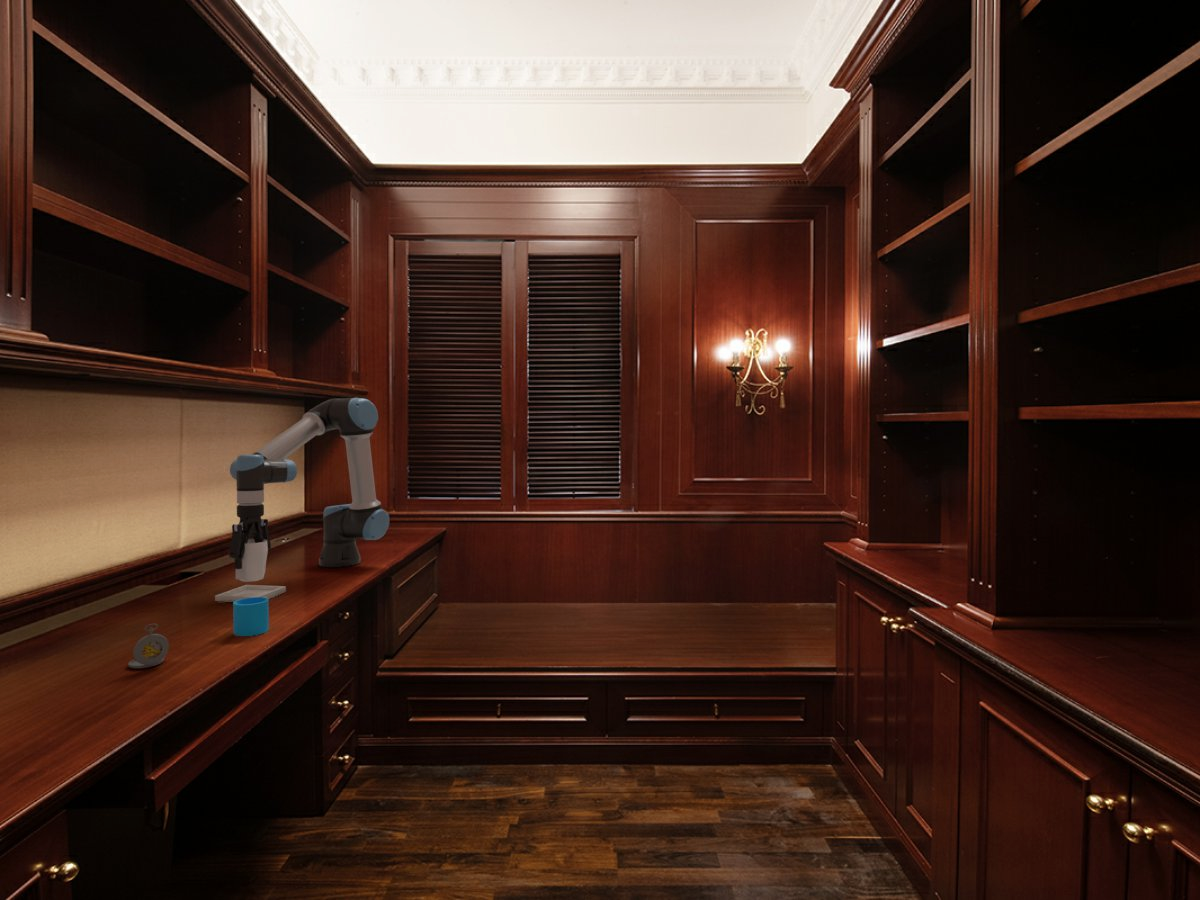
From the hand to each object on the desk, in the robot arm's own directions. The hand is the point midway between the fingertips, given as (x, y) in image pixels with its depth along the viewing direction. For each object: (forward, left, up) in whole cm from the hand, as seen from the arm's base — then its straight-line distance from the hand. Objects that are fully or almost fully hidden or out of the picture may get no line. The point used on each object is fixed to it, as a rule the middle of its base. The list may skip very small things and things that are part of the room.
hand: (251, 575), depth 206 cm
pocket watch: (+58, +17, -7) cm, 61 cm away
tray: (0, 0, -7) cm, 7 cm away
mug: (+30, +23, -7) cm, 38 cm away
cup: (0, 0, -1) cm, 1 cm away
